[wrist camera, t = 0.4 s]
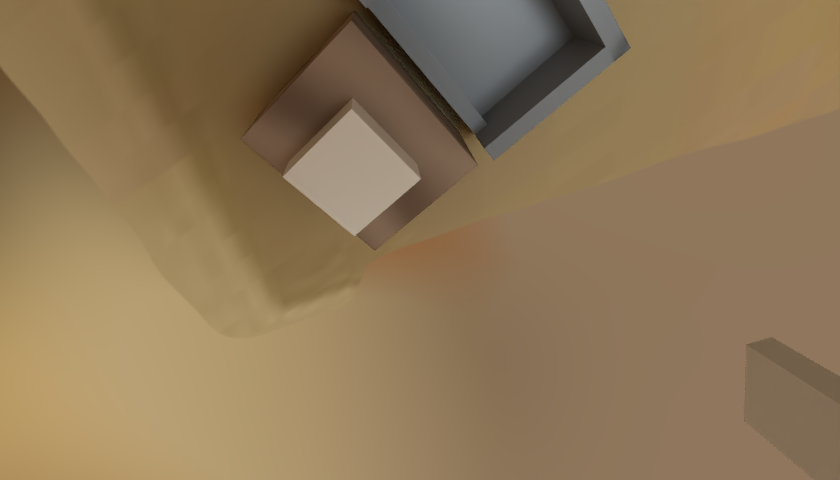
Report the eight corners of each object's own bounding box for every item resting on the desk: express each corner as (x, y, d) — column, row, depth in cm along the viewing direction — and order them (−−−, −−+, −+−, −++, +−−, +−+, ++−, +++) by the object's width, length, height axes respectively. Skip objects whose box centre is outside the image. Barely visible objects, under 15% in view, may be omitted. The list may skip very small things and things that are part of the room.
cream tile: (352, 97, 26) (351, 108, 24) (417, 163, 29) (420, 179, 27) (288, 161, 28) (282, 176, 26) (355, 218, 30) (354, 236, 28)
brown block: (354, 10, 30) (351, 20, 24) (459, 132, 35) (477, 165, 29) (263, 109, 32) (240, 139, 27) (373, 207, 38) (374, 250, 32)
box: (480, -153, 26) (508, -183, 21) (589, 36, 32) (630, 48, 27) (354, -13, 29) (351, -10, 24) (475, 133, 35) (494, 160, 30)
